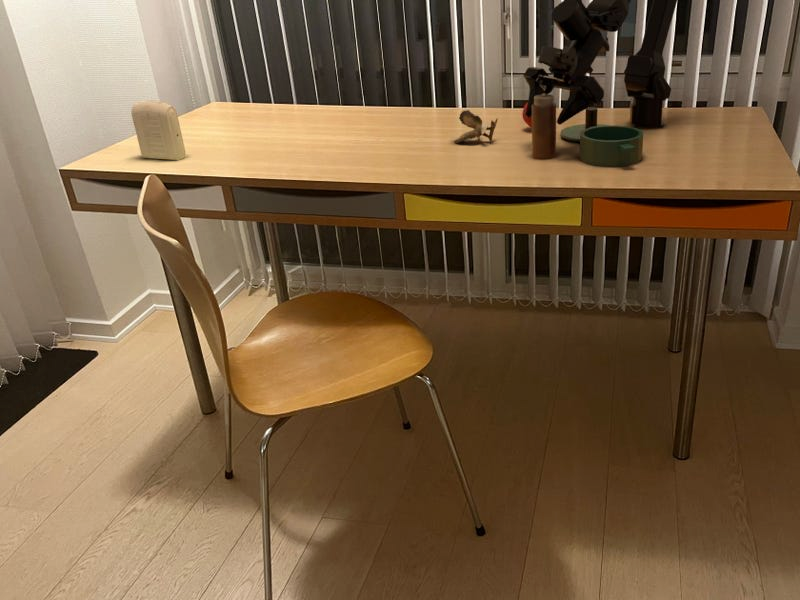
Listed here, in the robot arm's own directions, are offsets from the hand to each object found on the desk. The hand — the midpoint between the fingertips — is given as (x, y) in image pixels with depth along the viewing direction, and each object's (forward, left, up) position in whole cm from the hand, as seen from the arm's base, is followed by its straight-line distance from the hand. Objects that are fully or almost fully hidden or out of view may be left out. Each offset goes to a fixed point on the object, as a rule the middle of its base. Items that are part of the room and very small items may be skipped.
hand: (542, 119), depth 165 cm
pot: (-14, +3, -7) cm, 16 cm away
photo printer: (+84, -12, -8) cm, 85 cm away
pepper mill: (0, 0, -7) cm, 8 cm away
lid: (-12, -14, -7) cm, 20 cm away
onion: (0, -22, -8) cm, 23 cm away
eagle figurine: (+14, -14, -8) cm, 21 cm away
